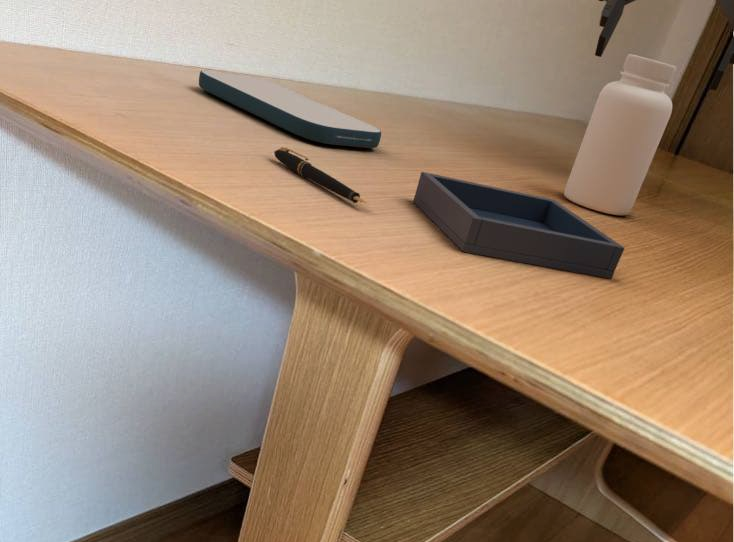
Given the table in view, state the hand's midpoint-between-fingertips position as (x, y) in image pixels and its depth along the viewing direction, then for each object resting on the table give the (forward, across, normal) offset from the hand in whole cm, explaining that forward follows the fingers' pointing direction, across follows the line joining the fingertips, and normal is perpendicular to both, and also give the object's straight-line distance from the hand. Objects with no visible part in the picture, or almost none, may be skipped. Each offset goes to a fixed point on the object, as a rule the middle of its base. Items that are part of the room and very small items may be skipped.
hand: (657, 63), depth 93 cm
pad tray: (+38, +3, +17) cm, 42 cm away
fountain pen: (+42, +20, +20) cm, 50 cm away
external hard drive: (+24, +35, +3) cm, 43 cm away
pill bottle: (+16, 0, -5) cm, 17 cm away
